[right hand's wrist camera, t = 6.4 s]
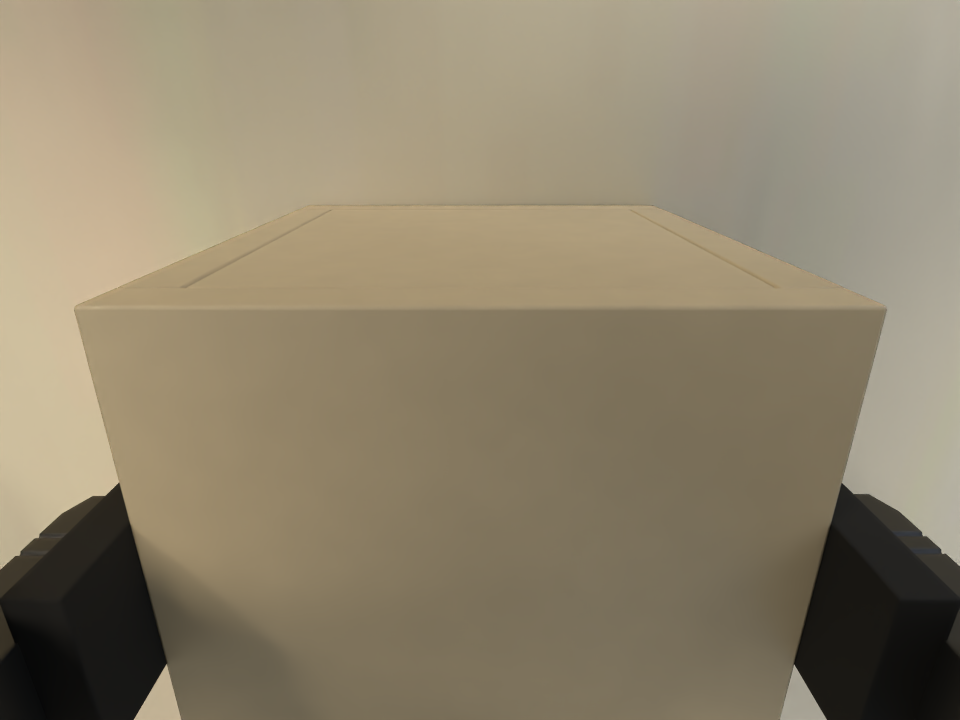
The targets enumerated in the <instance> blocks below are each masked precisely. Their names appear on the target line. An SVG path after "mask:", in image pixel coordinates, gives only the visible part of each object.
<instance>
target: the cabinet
mask: <svg viewBox="0 0 960 720" xmlns="http://www.w3.org/2000/svg"><path fill="white" fill-rule="evenodd" d="M74 311H75V315H76V319H77V323H78V326H79V330H80V334H81V338H82V342H83V345H84V349H85V353H86V357H87V361H88V364H89V368H90V372H91V376H92V380H93V384H94V387H95V391H96V395H97V399H98V403H99V406H100V410H101V414H102V418H103V422H104V426H105V429H106V433H107V437H108V441H109V445H110V448H111V452H112V456H113V460H114V464H115V467H116V471H117V475H118V479H119V483H120V487H121V490H122V494H123V498H124V502H125V506H126V509H127V513H128V517H129V521H130V525H131V529H132V532H133V536H134V540H135V544H136V548H137V551H138V555H139V559H140V563H141V567H142V571H143V574H144V578H145V582H146V586H147V590H148V593H149V597H150V601H151V605H152V609H153V612H154V616H155V620H156V624H157V628H158V632H159V635H160V639H161V643H162V647H163V651H164V654H165V658H166V662H167V666H168V670H169V674H170V677H171V681H172V685H173V689H174V693H175V696H176V700H177V704H178V708H179V712H180V715H181V719H182V720H780V716H781V712H782V708H783V705H784V701H785V697H786V693H787V689H788V685H789V682H790V678H791V674H792V670H793V666H794V663H795V659H796V655H797V651H798V647H799V644H800V640H801V636H802V632H803V628H804V624H805V621H806V617H807V613H808V609H809V605H810V602H811V598H812V594H813V590H814V586H815V582H816V579H817V575H818V571H819V567H820V563H821V560H822V556H823V552H824V548H825V544H826V540H827V537H828V533H829V529H830V525H831V521H832V518H833V514H834V510H835V506H836V502H837V498H838V495H839V491H840V487H841V483H842V479H843V476H844V472H845V468H846V464H847V460H848V456H849V453H850V449H851V445H852V441H853V437H854V434H855V430H856V426H857V422H858V418H859V414H860V411H861V407H862V403H863V399H864V395H865V392H866V388H867V384H868V380H869V376H870V373H871V369H872V365H873V361H874V357H875V353H876V350H877V346H878V342H879V338H880V334H881V331H882V327H883V323H884V319H885V315H886V311H887V308H886V306H885V305H882V304H880V303H878V302H875V301H873V300H871V299H869V298H866V297H864V296H862V295H859V294H857V293H855V292H852V291H850V290H848V289H845V288H843V287H842V286H839V285H837V284H835V283H832V282H830V281H828V280H825V279H823V278H821V277H819V276H816V275H814V274H812V273H809V272H807V271H805V270H802V269H800V268H798V267H795V266H793V265H791V264H788V263H786V262H784V261H781V260H779V259H777V258H774V257H772V256H770V255H768V254H765V253H763V252H761V251H758V250H756V249H754V248H751V247H749V246H747V245H744V244H742V243H740V242H737V241H735V240H733V239H730V238H728V237H726V236H723V235H721V234H719V233H717V232H714V231H712V230H710V229H707V228H705V227H703V226H700V225H698V224H696V223H693V222H691V221H689V220H686V219H684V218H682V217H679V216H677V215H675V214H672V213H670V212H668V211H666V210H663V209H660V208H657V207H655V206H653V205H565V206H307V207H304V208H302V209H299V210H296V211H294V212H292V213H290V214H287V215H285V216H283V217H280V218H278V219H276V220H273V221H271V222H269V223H266V224H264V225H262V226H259V227H257V228H255V229H252V230H250V231H248V232H245V233H243V234H241V235H238V236H236V237H234V238H231V239H229V240H227V241H224V242H222V243H220V244H217V245H215V246H213V247H211V248H208V249H206V250H204V251H201V252H199V253H197V254H194V255H192V256H190V257H187V258H185V259H183V260H180V261H178V262H176V263H173V264H171V265H169V266H166V267H164V268H162V269H159V270H157V271H155V272H152V273H150V274H148V275H145V276H143V277H141V278H139V279H136V280H134V281H132V282H129V283H127V284H125V285H122V286H120V287H118V288H115V289H113V290H111V291H109V292H106V293H104V294H102V295H99V296H97V297H95V298H92V299H90V300H88V301H85V302H83V303H81V304H78V305H76V306H75V309H74Z"/></svg>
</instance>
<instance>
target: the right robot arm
mask: <svg viewBox="0 0 960 720" xmlns="http://www.w3.org/2000/svg"><path fill="white" fill-rule="evenodd" d="M39 535H40V536H39V538H35V539H34V540H33V541H32V542H30V543H29V544H28V545H27V546H26V547H25V548H24V549H23V550H22V551H21V554H20V556H15V557H14V558H13V559H12V560H11V561H10V562H9V563H7V564H6V565H5V566H4V567H3V568H2V569H1V570H0V720H134V718H135V717H136V715H137V713H138V711H139V710H140V708H141V706H142V705H143V703H144V701H145V700H146V698H147V696H148V694H149V693H150V691H151V689H152V688H153V686H154V684H155V683H156V681H157V679H158V677H159V676H160V674H161V672H162V671H163V669H164V667H165V666H166V664H167V662H166V658H165V654H164V651H163V647H162V643H161V639H160V635H159V632H158V628H157V624H156V620H155V616H154V612H153V609H152V605H151V601H150V597H149V593H148V590H147V586H146V582H145V578H144V574H143V571H142V567H141V563H140V559H139V555H138V551H137V548H136V544H135V540H134V536H133V532H132V529H131V525H130V521H129V517H128V513H127V509H126V506H125V502H124V498H123V494H122V490H121V487H120V483H118V484H117V485H116V486H115V487H114V488H113V489H112V490H111V491H110V492H109V493H108V494H107V495H106V496H92V497H90V498H89V499H87V500H85V501H83V502H82V503H80V504H78V505H76V506H75V507H73V508H71V509H69V510H68V511H66V512H64V513H62V514H61V515H60V516H59V517H58V518H57V519H56V520H55V521H53V522H52V523H51V524H50V525H49V526H48V527H47V528H46V529H45V530H44V531H42V532H41V533H40V534H39ZM794 665H795V666H796V668H797V670H798V671H799V673H800V675H801V676H802V678H803V680H804V681H805V683H806V685H807V687H808V688H809V690H810V692H811V693H812V695H813V697H814V698H815V700H816V702H817V704H818V705H819V707H820V709H821V710H822V712H823V714H824V715H825V717H826V719H827V720H960V566H959V565H958V564H956V563H955V562H954V561H953V560H952V559H951V558H950V557H949V556H948V555H947V554H942V553H941V549H940V548H939V547H938V546H937V545H936V544H934V543H933V542H932V541H931V540H930V539H929V538H928V537H927V536H922V532H921V531H920V530H919V529H918V528H917V527H916V526H915V525H913V524H912V523H911V522H910V521H909V520H908V519H907V518H906V517H905V516H904V515H902V514H901V513H900V512H899V511H897V510H895V509H894V508H892V507H890V506H888V505H887V504H885V503H883V502H881V501H880V500H878V499H876V498H874V497H872V496H871V495H869V494H853V493H852V492H851V491H850V490H849V489H848V488H847V487H845V486H844V485H843V484H842V483H841V487H840V491H839V495H838V498H837V502H836V506H835V510H834V514H833V518H832V521H831V525H830V529H829V533H828V537H827V540H826V544H825V548H824V552H823V556H822V560H821V563H820V567H819V571H818V575H817V579H816V582H815V586H814V590H813V594H812V598H811V602H810V605H809V609H808V613H807V617H806V621H805V624H804V628H803V632H802V636H801V640H800V644H799V647H798V651H797V655H796V659H795V663H794Z"/></svg>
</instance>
